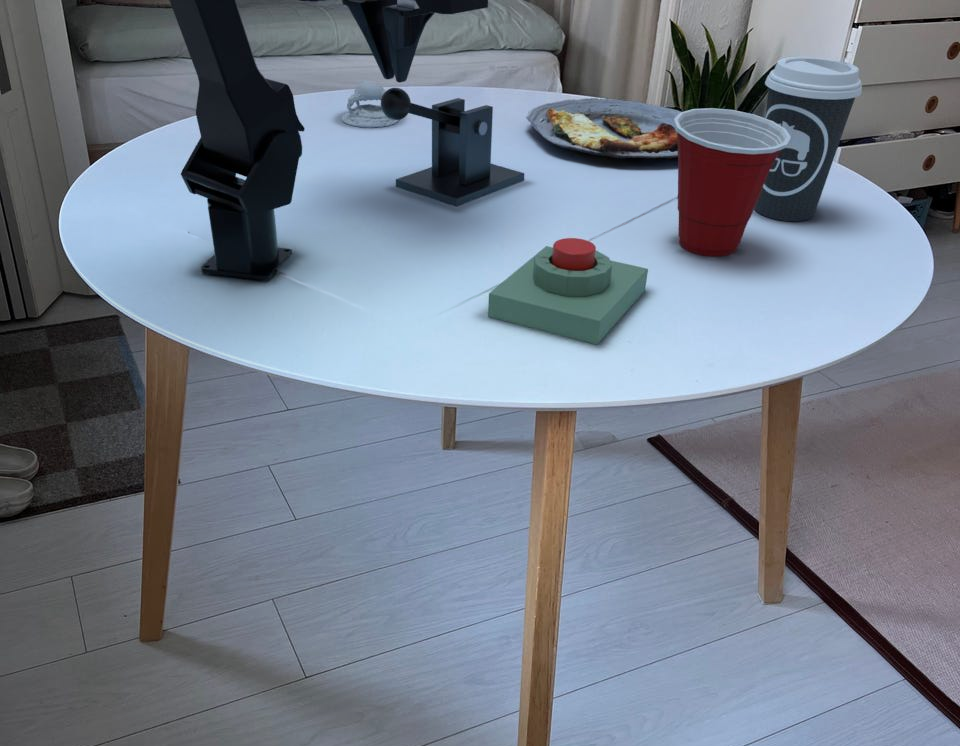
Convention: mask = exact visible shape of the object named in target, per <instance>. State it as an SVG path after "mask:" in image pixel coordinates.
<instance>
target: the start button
mask: <svg viewBox="0 0 960 746" xmlns="http://www.w3.org/2000/svg"><path fill="white" fill-rule="evenodd" d="M552 247H553V254H552V265H554V266H555V267H557V268H560V269H564V270H568V271H585V270H589V269H593V267H594V260H595V251H597V250H596V249H597V247H596V244H595V243H593V242H592V241H589V240H587V239H583V238H576V237H566V238H561V239H557V240H556V241H555V242H553V245H552Z"/></svg>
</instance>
